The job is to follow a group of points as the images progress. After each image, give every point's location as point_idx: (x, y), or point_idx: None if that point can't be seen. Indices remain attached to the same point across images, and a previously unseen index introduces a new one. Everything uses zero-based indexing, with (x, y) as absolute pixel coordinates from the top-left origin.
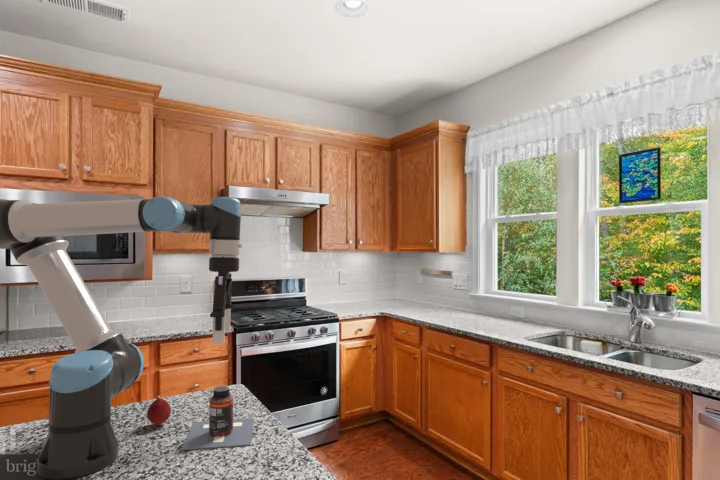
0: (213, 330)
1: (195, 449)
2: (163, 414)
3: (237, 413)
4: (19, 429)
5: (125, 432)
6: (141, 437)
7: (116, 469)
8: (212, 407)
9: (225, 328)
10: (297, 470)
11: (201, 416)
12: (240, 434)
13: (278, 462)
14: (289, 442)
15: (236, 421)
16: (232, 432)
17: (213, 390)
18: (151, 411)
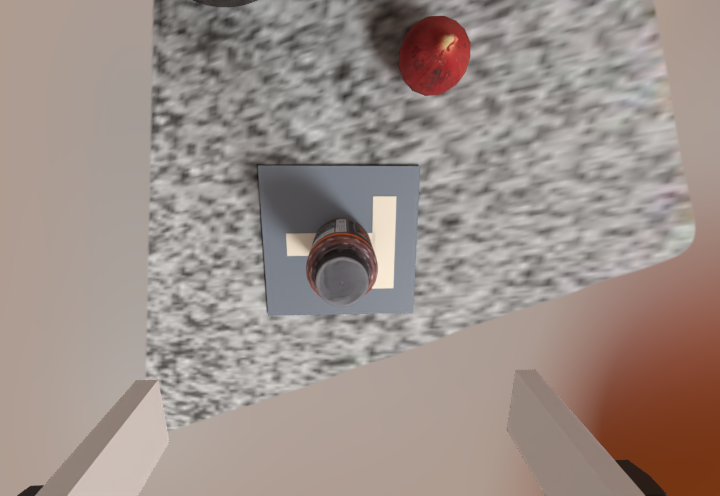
0: (69, 464)
1: (260, 197)
2: (404, 78)
3: (463, 269)
4: None
5: None
6: (350, 37)
7: (172, 27)
8: (314, 244)
9: (525, 429)
10: None
11: (464, 178)
12: None
13: (188, 368)
14: (275, 386)
15: (402, 273)
16: None
17: (336, 256)
18: (408, 35)
